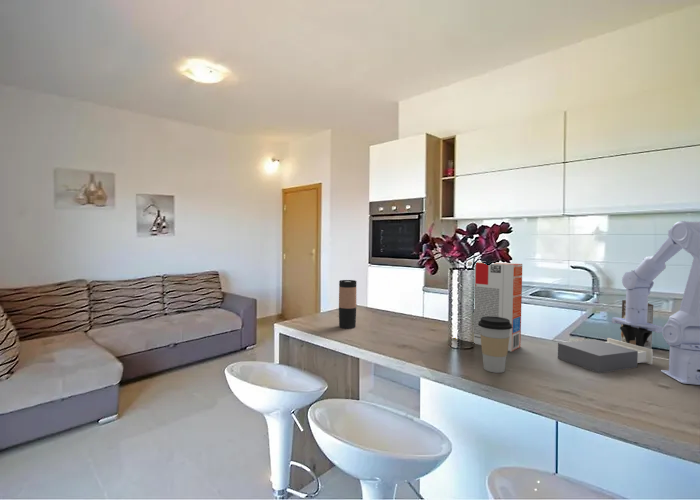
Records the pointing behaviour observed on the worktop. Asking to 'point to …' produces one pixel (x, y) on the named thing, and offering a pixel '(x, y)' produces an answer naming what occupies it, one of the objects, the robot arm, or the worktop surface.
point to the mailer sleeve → (597, 355)
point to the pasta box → (498, 297)
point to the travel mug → (347, 304)
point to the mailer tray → (643, 353)
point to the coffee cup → (494, 342)
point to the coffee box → (649, 320)
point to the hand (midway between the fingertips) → (635, 349)
